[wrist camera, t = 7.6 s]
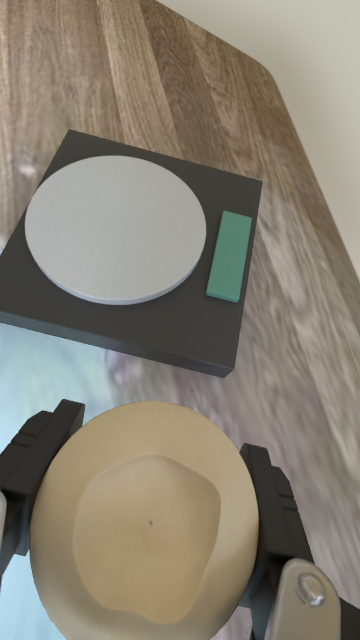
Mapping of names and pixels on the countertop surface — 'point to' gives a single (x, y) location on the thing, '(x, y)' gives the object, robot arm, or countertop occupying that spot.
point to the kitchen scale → (134, 254)
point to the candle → (144, 527)
